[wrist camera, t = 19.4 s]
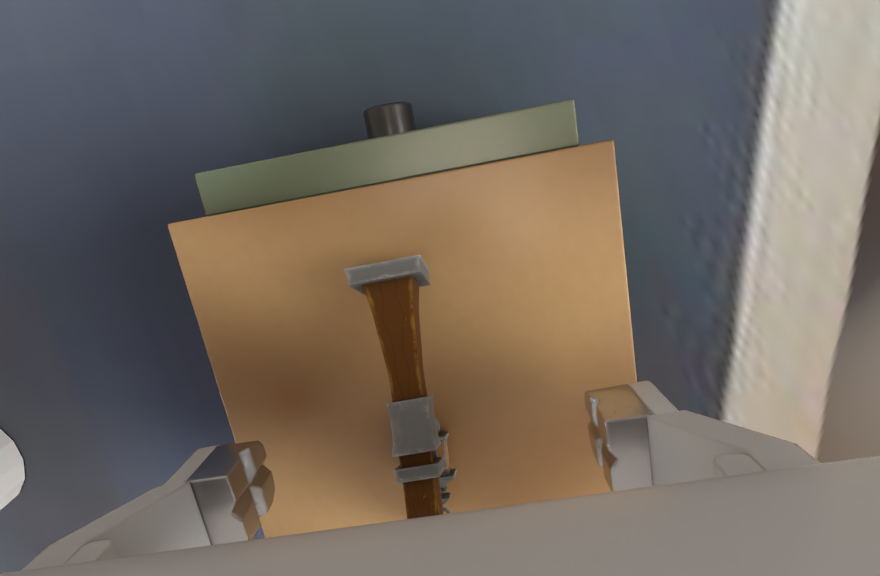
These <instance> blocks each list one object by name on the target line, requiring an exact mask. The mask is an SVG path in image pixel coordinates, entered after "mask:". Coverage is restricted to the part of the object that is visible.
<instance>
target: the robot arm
mask: <svg viewBox="0 0 880 576" xmlns="http://www.w3.org/2000/svg"><path fill="white" fill-rule="evenodd" d="M585 408H586V410H587V412H588V414H589V416H590V418H591V421H590V423H589V424H588V431H589V438H590V442H591V447H592V451H593V454H594V456H595V459H596V461H597V463H598V465H599V466H601V467H603V471H604V478H605V480H606V482H607V484H608V486H609V488H610V490H611V492H606V493H599V494H591V495H584V496H576V497H569V498H562V499H554V500H547V501H539V502H532V503H524V504H517V505H509V506H502V507H495V508H487V509H480V510H472V511H465V512H457V513H450V514H442V515H435V516H427V517H420V518H412V519H405V520H397V521H390V522H382V523H375V524H367V525H360V526H352V527H345V528H337V529H330V530H322V531H315V532H307V533H300V534H292V535H285V536H277V537H270V538H262V539H255V540H252V539H253V537H254V535H255V534H256V532H257V530H258V528H259V527H260V525H261V523H260V520H259V518H260V517H261V516H262V515H264V514H265V513H266V512H268V511H269V509H270V507H271V505H272V503H273V499H274V493H275V485H274V478H273V475H272V472H271V471H270V470H269V469H268V468H267V467H266V466H264V465H263V464H264V462H265V459H266V457H267V455H266V452H265V449H264V446H263V444H262V443H261V442H260V441H258V440H257V441H249V442H242V443H234V444H227V445H216V446H211V447H206V448H201V449H198V450H197V451H196V452H195V453H194V454H193V455H192V456H191V457H190V458H189V459H188V460H187V461H186V462H185V463H184V464H183V465H182V466H181V467H180V468H179V470H178V471H177V472H176V473H175V474H174V475H173V476H172V477H171V478H170V479H169V480H168V481H167V482H166V483H165V484H164V485H163V486H159V487H156V488H154V489H152V490H150V491H148V492H146V493H145V494H143V495H141V496H139V497H137V498H135V499H134V500H132V501H130V502H128V503H126V504H124V505H123V506H121V507H119V508H117V509H115V510H113V511H111V512H110V513H108V514H106V515H104V516H102V517H100V518H99V519H97V520H95V521H93V522H91V523H89V524H88V525H86V526H84V527H82V528H80V529H78V530H77V531H75V532H73V533H71V534H69V535H67V536H66V537H64V538H62V539H60V540H58V541H56V542H55V543H53V544H51V545H49V546H47V547H46V548H45V549H44V550H43V551H42V552H41V553H40V554H39V555H38V556H36V557H35V558H34V559H33V560H32V561H31V562H30V563H29V564H28V565H26V566H25V567H24V568H23V569H22V570H21V571H16V572H9V573H1V574H0V576H880V456H875V457H867V458H859V459H852V460H844V461H837V462H830V463H822V464H821V463H820V462H818V461H817V460H816V459H814V458H813V457H812V456H811V455H809V454H808V453H807V452H806V451H804V450H803V449H802V448H801V447H799V446H798V445H797V444H795V443H792V442H788V441H785V440H782V439H779V438H775V437H772V436H769V435H765V434H762V433H759V432H756V431H752V430H749V429H746V428H742V427H739V426H736V425H733V424H729V423H726V422H723V421H719V420H716V419H713V418H710V417H706V416H703V415H700V414H696V413H693V412H690V411H687V410H682V411H678V410H677V409H676V408H675V407H674V406H673V405H672V404H671V403H670V401H669V400H668V399H667V398H666V397H665V396H664V395H663V394H662V393H661V392H660V391H659V390H658V389H657V388H656V387H655V386H654V385H653V384H652V383H651V382H650V381H642V382H637V383H632V384H623V385H617V386H611V387H606V388H600V389H594V390H588V391H586V392H585Z"/></svg>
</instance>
